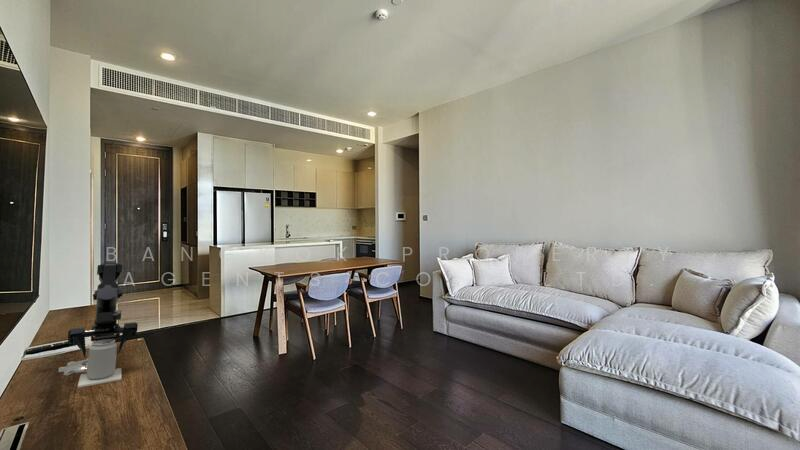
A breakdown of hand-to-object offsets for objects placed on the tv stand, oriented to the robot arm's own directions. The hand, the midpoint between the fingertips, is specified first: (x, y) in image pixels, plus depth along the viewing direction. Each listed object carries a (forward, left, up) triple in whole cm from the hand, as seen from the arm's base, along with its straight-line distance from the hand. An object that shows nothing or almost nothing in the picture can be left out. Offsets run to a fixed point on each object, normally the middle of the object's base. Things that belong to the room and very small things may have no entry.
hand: (102, 354), depth 117 cm
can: (-1, 0, -8) cm, 8 cm away
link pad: (-1, 0, -8) cm, 9 cm away
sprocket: (-16, -4, -8) cm, 18 cm away
